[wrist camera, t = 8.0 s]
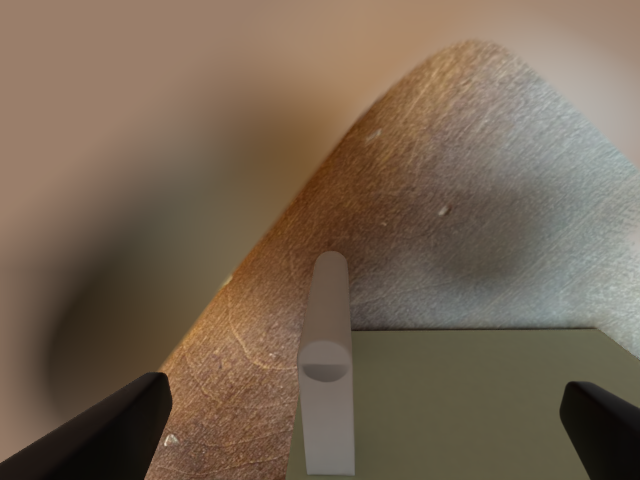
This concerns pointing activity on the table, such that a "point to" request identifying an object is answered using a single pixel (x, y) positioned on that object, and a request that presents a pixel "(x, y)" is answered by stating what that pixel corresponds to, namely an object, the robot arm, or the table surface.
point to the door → (439, 396)
